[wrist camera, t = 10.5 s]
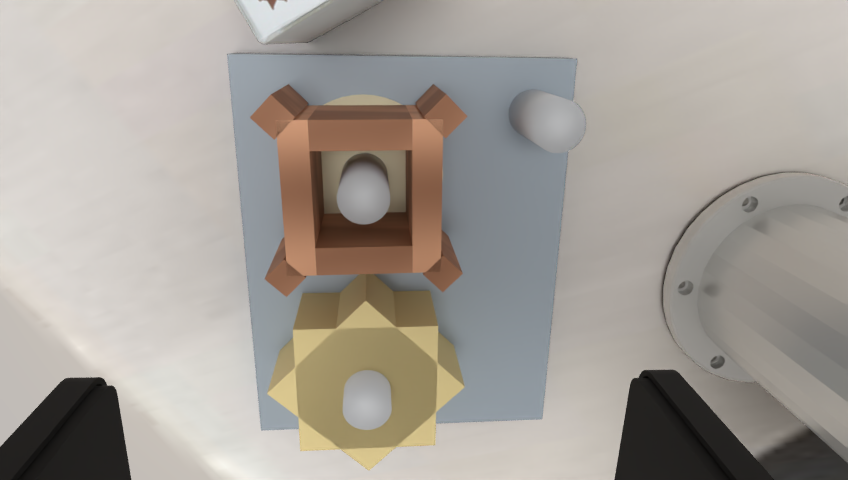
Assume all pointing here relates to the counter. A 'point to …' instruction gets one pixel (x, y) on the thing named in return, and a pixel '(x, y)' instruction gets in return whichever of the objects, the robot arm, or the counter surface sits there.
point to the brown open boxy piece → (333, 233)
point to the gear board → (411, 292)
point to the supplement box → (298, 17)
